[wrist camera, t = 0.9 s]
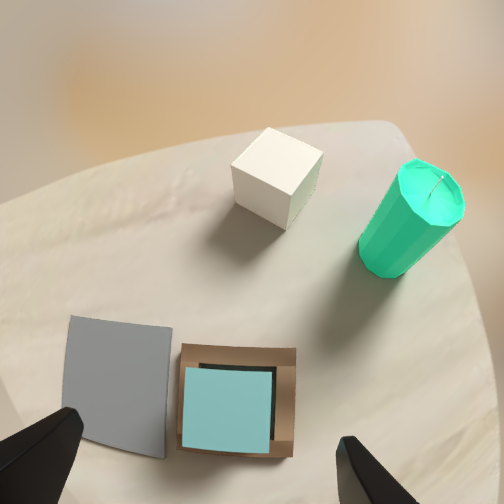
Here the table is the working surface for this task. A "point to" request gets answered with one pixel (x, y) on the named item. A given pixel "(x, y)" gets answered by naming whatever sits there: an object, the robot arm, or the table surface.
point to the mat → (119, 382)
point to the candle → (411, 219)
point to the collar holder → (254, 358)
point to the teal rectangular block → (227, 410)
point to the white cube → (276, 176)
